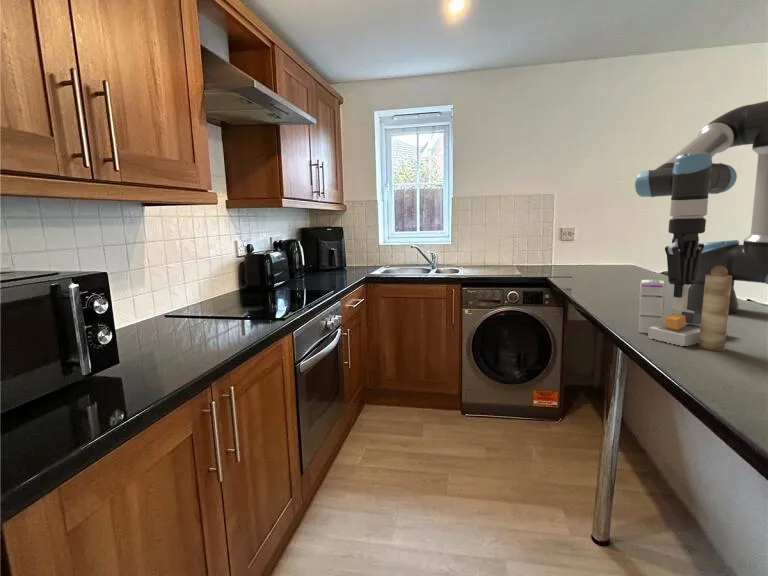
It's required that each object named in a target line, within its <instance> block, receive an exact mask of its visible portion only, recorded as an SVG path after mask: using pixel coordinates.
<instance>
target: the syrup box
mask: <svg viewBox="0 0 768 576" xmlns="http://www.w3.org/2000/svg"><path fill="white" fill-rule="evenodd" d="M639 285H640V288H639V301H638V303H639V304H638V305H639V306H638V320H637V321H638V323H637V325H638V326H637V332H638V333H640V334H647V333H648V330H649V327H654V326H658V325H663V323H664V321H663V320H664V310H665V309H664V308H665V306H664V305H665V287H666V286H665V285H666V284H665V280H661V279H641V280H640V283H639Z"/></svg>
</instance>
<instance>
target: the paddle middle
mask: <svg viewBox="0 0 768 576" xmlns="http://www.w3.org/2000/svg"><path fill="white" fill-rule="evenodd" d="M680 315H685V319H686V323H690V324H696V325H700V321H701V316H702V315H701V314H695V313H694V312H689V311H687V312H686V311H684V310H681V314H680Z"/></svg>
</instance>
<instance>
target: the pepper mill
mask: <svg viewBox="0 0 768 576" xmlns="http://www.w3.org/2000/svg"><path fill="white" fill-rule="evenodd" d="M727 274H728V271H727V269H726V268H725V267H724V266H715V267H713V268H712V269H711V274H707V275H706V276H705V286H704V296H703V307H702V317H701V327H700V337H699V343H698V348H700V347H701V348H700V349H702V348H704V349H703V350H706V349H707V350H706V351H711V350H713V352H714V351H715V352H723V351H725V348H726V337H727V336H726V330H727V324H728V320H729V313H728V311H729V302H730V293H731V284H732V276H730V275H727ZM722 350H723V351H722Z"/></svg>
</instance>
